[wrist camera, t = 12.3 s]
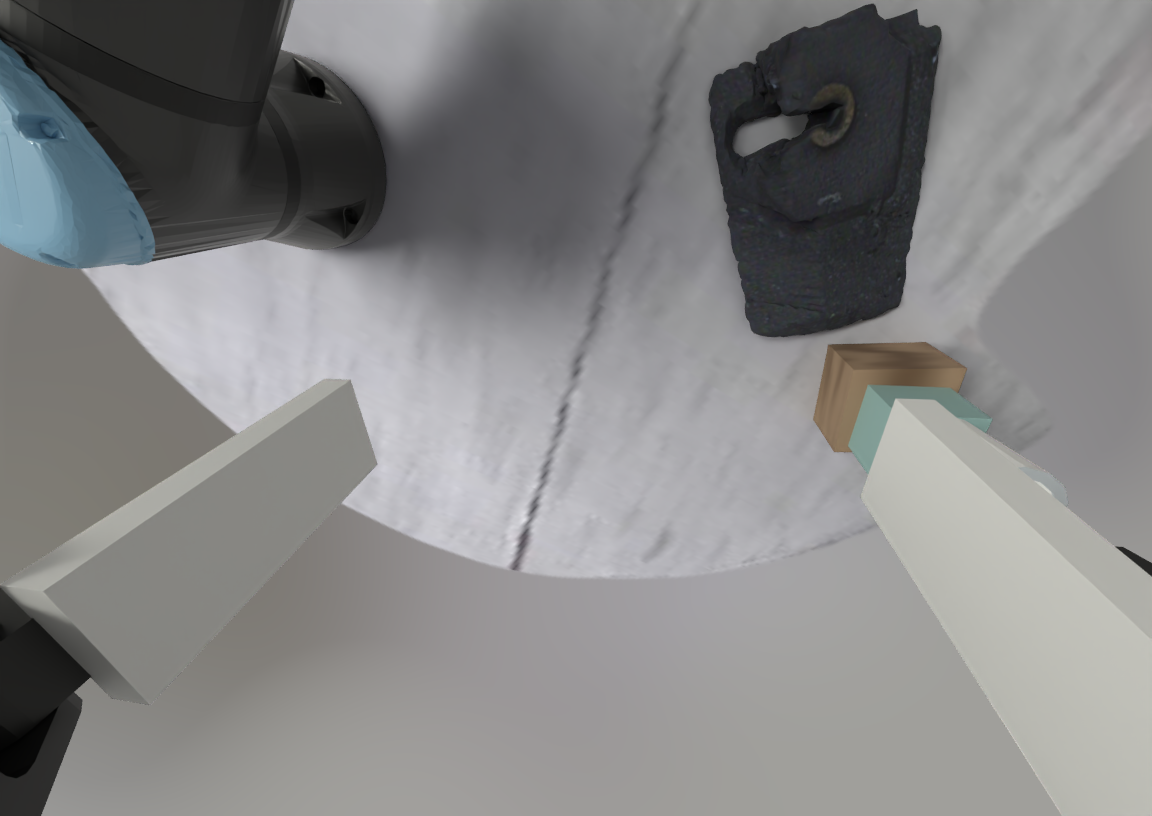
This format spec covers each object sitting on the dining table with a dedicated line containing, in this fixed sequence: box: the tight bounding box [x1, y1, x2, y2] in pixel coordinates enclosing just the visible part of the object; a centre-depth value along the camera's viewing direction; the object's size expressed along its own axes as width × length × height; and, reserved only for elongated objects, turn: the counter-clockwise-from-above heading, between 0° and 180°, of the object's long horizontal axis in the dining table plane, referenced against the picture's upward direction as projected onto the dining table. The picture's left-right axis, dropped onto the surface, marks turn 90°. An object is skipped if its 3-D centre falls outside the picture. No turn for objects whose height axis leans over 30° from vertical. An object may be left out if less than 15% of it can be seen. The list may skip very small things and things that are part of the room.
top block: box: [848, 385, 993, 474], centre depth 34 cm, size 6×6×5 cm
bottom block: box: [813, 342, 967, 452], centre depth 38 cm, size 8×8×6 cm
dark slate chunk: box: [709, 4, 941, 337], centre depth 33 cm, size 15×22×5 cm
